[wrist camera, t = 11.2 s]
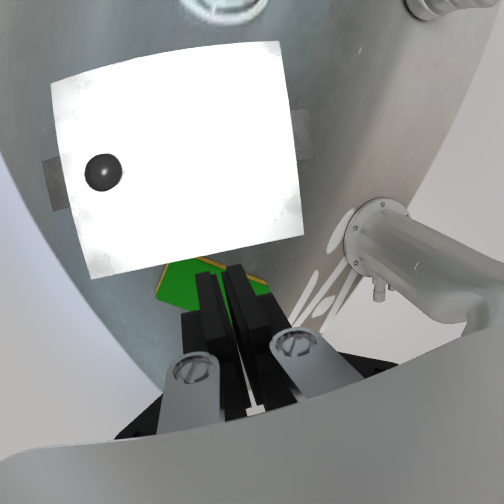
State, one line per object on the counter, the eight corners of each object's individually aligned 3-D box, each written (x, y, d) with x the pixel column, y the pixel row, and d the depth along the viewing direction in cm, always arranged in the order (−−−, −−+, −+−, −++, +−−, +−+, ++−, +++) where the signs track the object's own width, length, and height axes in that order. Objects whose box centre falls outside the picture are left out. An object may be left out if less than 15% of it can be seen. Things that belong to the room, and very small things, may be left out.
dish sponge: (174, 244, 41) (174, 251, 39) (266, 280, 46) (270, 288, 44) (155, 290, 43) (154, 299, 41) (243, 320, 48) (247, 329, 45)
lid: (300, 231, 31) (312, 240, 28) (93, 275, 28) (86, 288, 25) (275, 44, 25) (286, 34, 22) (54, 85, 21) (42, 79, 19)
